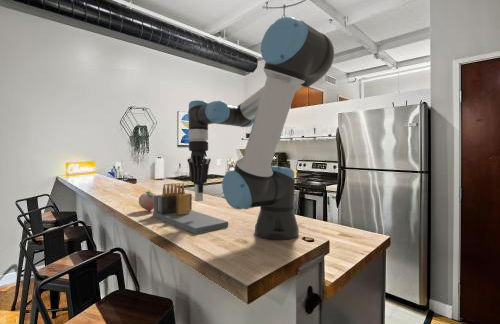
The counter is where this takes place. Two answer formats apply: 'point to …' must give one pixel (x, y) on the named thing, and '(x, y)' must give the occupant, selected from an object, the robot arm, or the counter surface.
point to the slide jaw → (176, 204)
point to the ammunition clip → (172, 190)
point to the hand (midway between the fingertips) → (198, 200)
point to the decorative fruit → (147, 201)
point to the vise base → (189, 219)
